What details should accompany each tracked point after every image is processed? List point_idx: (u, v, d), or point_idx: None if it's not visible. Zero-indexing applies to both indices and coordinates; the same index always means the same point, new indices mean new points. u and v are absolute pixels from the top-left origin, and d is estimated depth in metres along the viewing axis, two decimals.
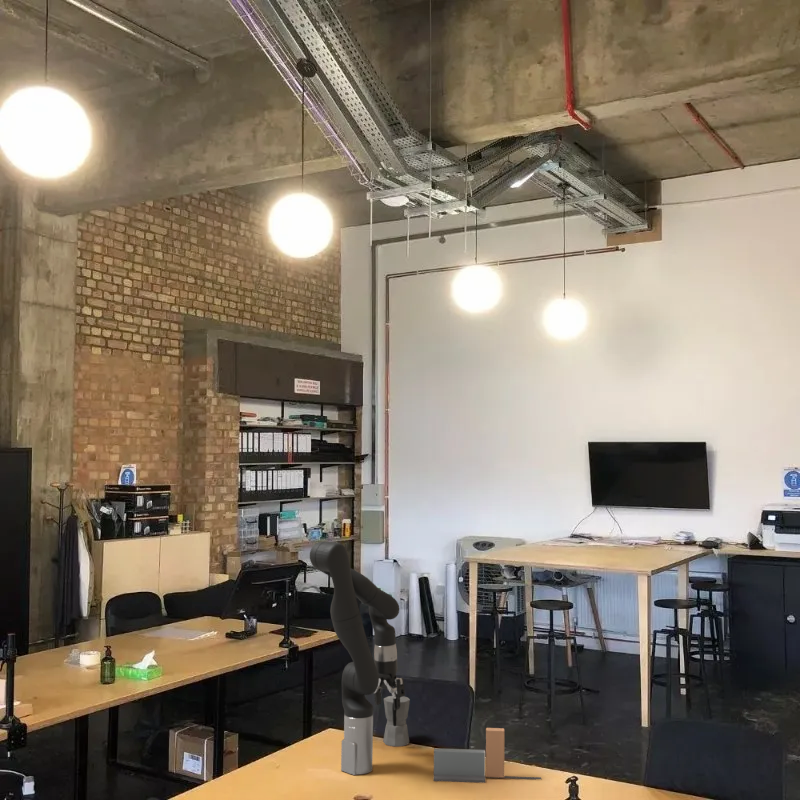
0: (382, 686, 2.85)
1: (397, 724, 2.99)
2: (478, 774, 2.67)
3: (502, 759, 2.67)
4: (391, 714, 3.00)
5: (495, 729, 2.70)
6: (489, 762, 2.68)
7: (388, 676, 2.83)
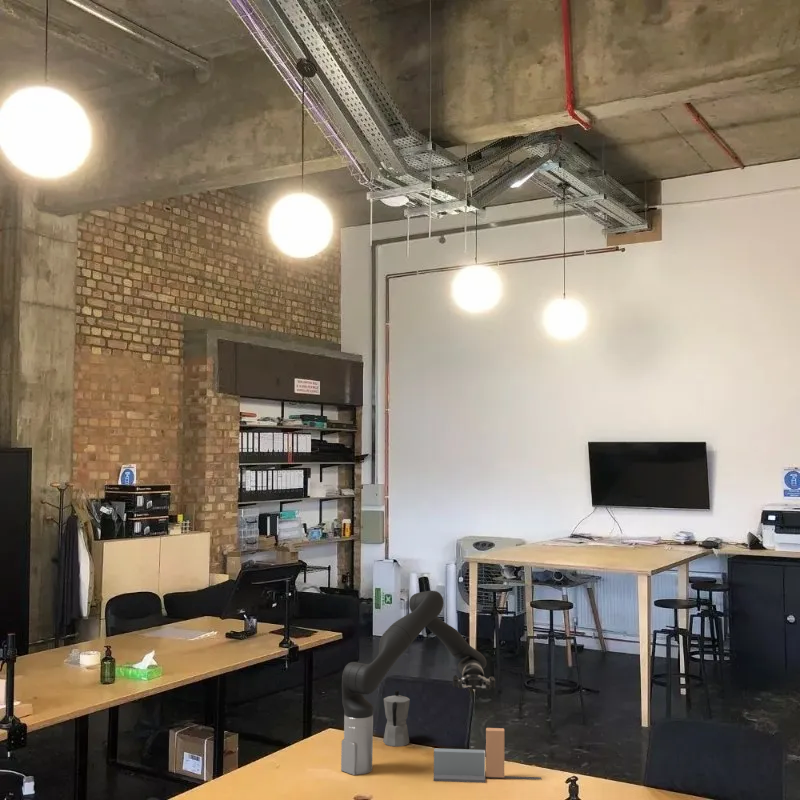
0: (471, 678, 2.92)
1: (397, 724, 2.99)
2: (478, 774, 2.67)
3: (502, 759, 2.67)
4: (391, 714, 3.00)
5: (495, 729, 2.70)
6: (489, 762, 2.68)
7: None
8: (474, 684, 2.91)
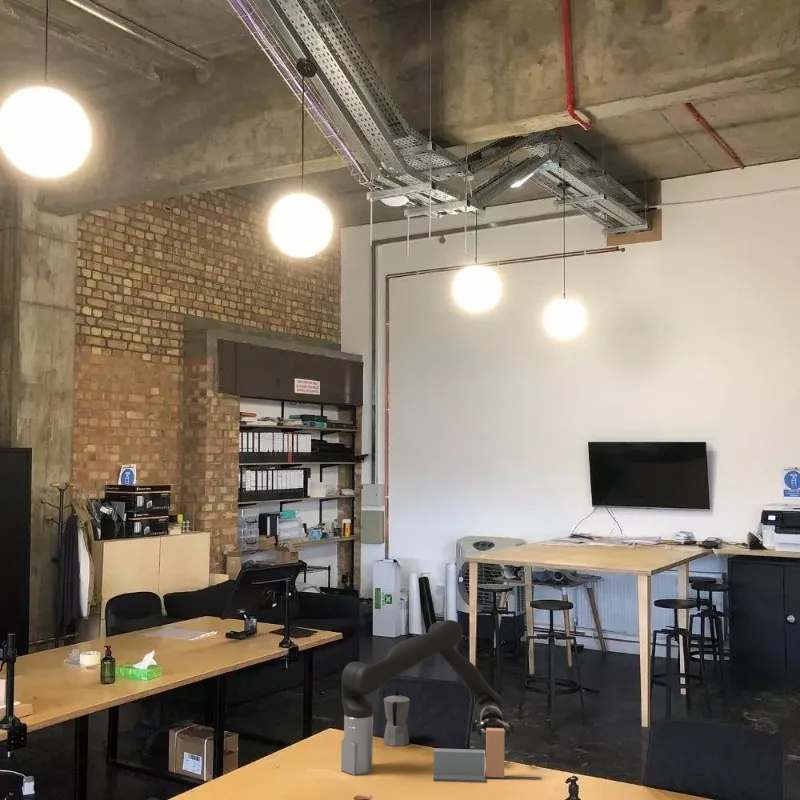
0: (490, 723, 2.84)
1: (397, 724, 2.99)
2: (478, 774, 2.67)
3: (502, 759, 2.67)
4: (391, 714, 3.00)
5: (495, 729, 2.70)
6: (489, 762, 2.68)
7: (498, 720, 2.87)
8: None
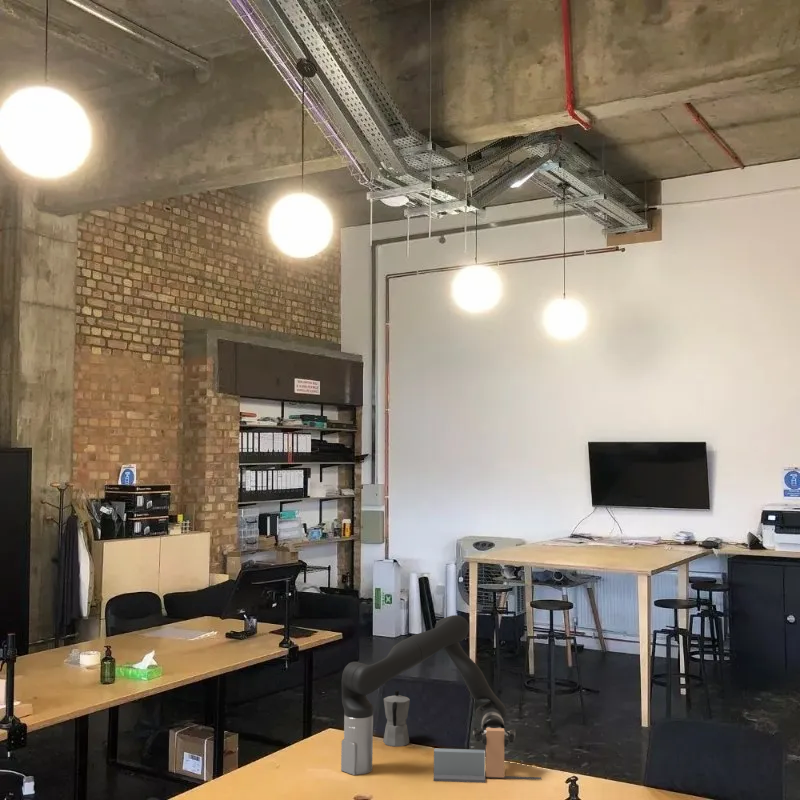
0: None
1: (397, 724, 2.99)
2: (478, 774, 2.67)
3: (502, 759, 2.67)
4: (391, 714, 3.00)
5: (495, 729, 2.70)
6: (489, 762, 2.68)
7: None
8: None
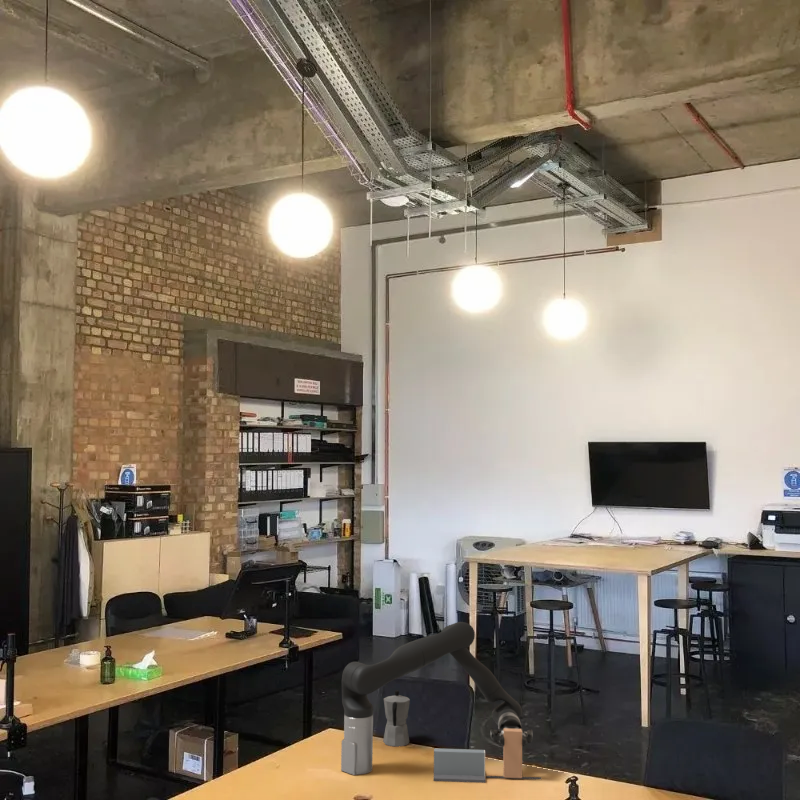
0: None
1: (397, 724, 2.99)
2: (478, 774, 2.67)
3: (520, 760, 2.67)
4: (391, 714, 3.00)
5: (513, 730, 2.69)
6: (507, 763, 2.67)
7: (517, 728, 2.78)
8: None
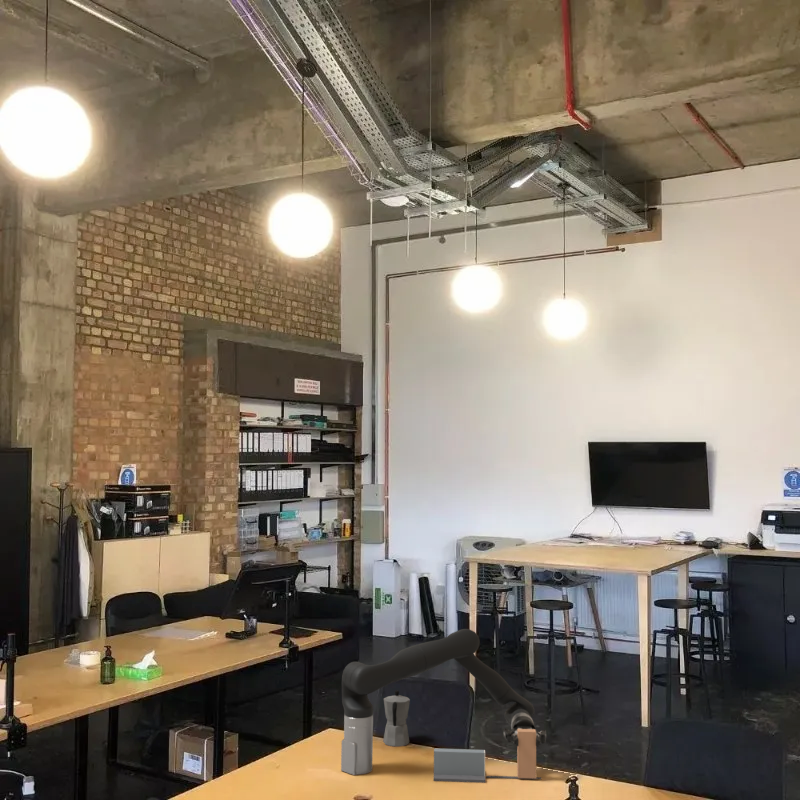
0: None
1: (397, 724, 2.99)
2: (478, 774, 2.67)
3: (534, 760, 2.67)
4: (391, 714, 3.00)
5: (526, 730, 2.69)
6: (521, 763, 2.67)
7: None
8: None
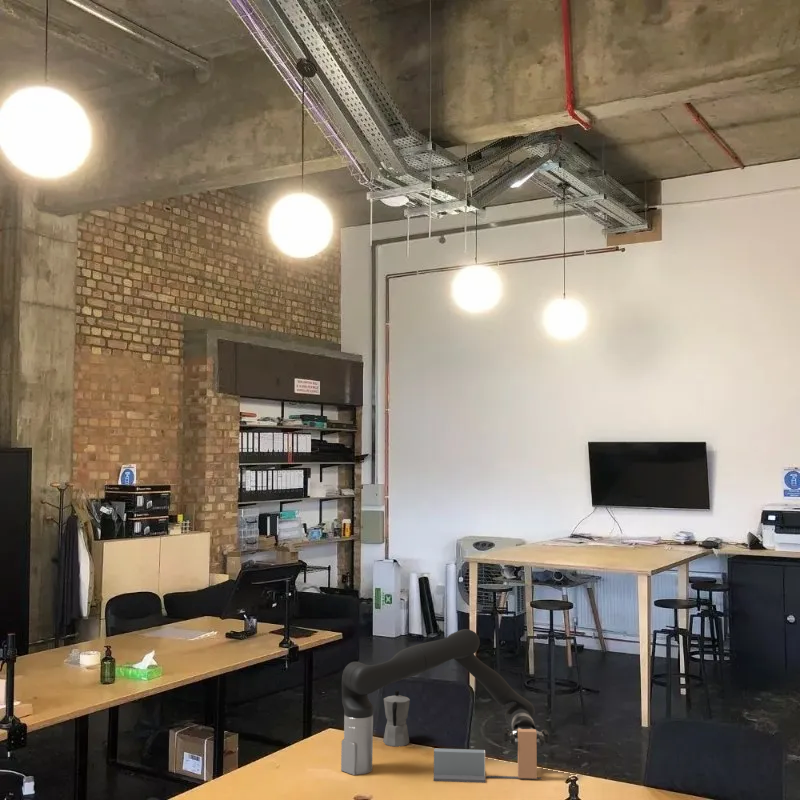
0: None
1: (397, 724, 2.99)
2: (478, 774, 2.67)
3: (534, 760, 2.67)
4: (391, 714, 3.00)
5: (527, 730, 2.69)
6: (521, 763, 2.67)
7: None
8: None
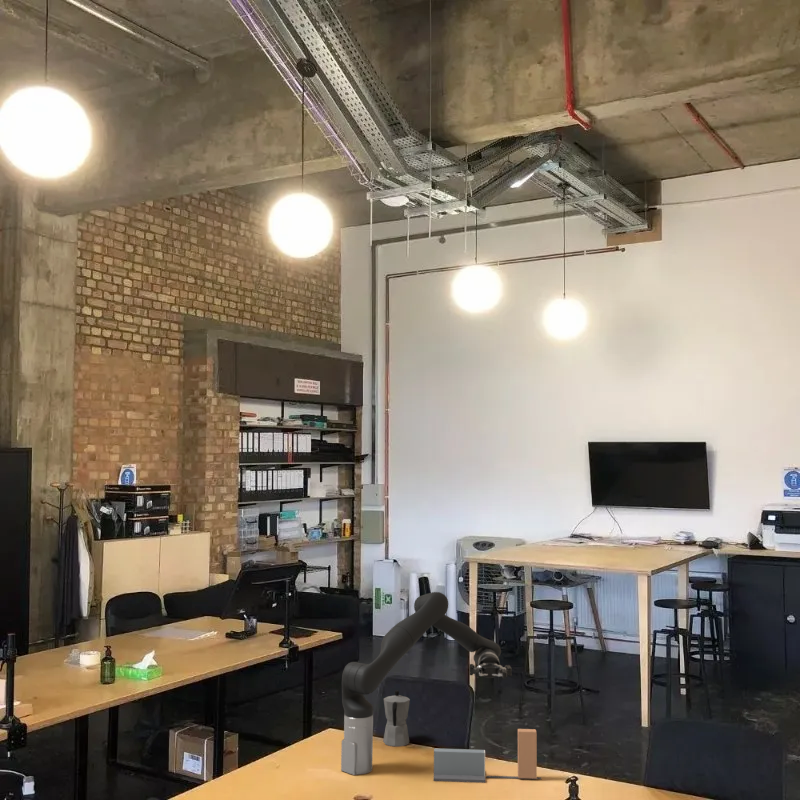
0: (487, 667, 2.92)
1: (397, 724, 2.99)
2: (478, 774, 2.67)
3: (534, 760, 2.67)
4: (391, 714, 3.00)
5: (527, 730, 2.69)
6: (521, 763, 2.67)
7: None
8: (490, 672, 2.91)
